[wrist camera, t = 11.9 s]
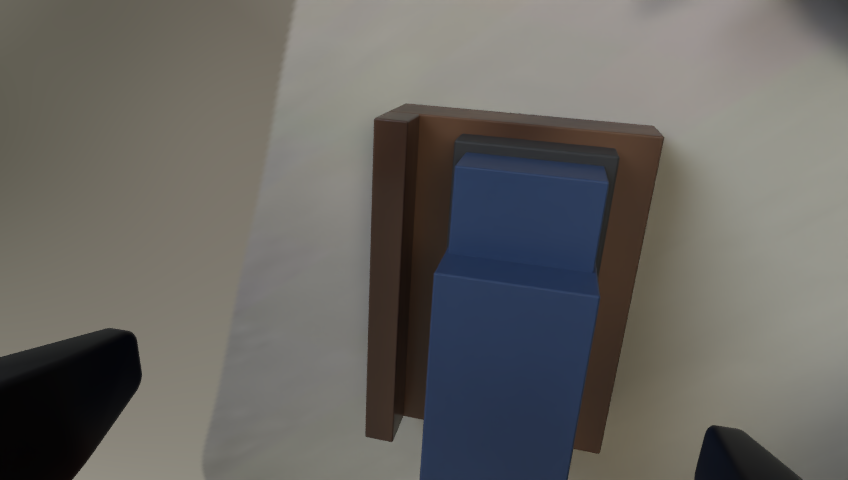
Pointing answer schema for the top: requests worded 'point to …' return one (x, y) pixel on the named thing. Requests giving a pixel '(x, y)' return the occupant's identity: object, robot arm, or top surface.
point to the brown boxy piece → (427, 241)
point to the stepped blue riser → (515, 308)
